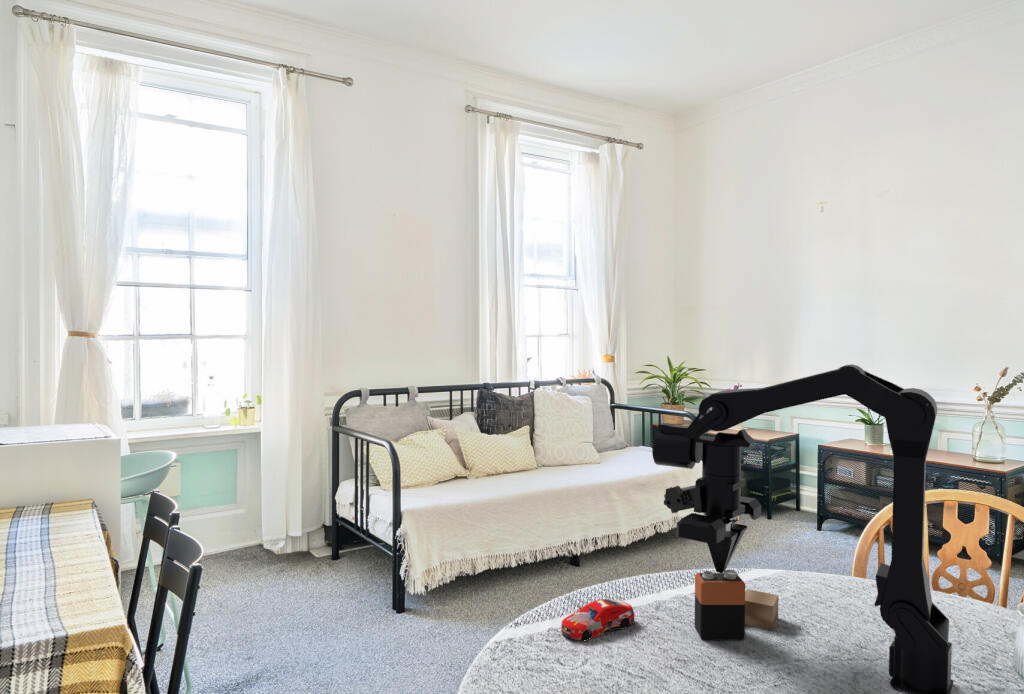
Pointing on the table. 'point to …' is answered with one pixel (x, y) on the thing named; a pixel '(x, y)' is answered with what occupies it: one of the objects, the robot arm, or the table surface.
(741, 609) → the battery
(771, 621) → the walnut block
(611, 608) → the race car
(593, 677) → the table surface
